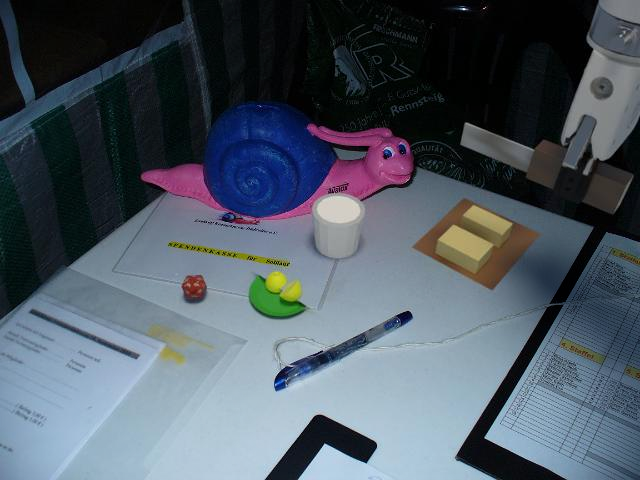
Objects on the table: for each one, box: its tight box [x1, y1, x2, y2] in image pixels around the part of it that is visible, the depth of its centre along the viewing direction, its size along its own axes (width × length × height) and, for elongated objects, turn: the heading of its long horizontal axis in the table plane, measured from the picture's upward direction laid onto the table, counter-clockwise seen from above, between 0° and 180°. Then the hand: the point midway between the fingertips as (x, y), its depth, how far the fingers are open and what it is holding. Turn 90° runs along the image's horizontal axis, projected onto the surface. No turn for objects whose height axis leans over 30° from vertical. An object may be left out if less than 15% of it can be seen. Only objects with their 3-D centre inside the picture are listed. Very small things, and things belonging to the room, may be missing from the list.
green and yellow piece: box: [248, 270, 308, 317], centre depth 73 cm, size 8×8×3 cm
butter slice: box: [460, 205, 513, 248], centre depth 81 cm, size 6×3×2 cm, turn 50°
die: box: [180, 274, 208, 300], centre depth 73 cm, size 3×3×3 cm
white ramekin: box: [311, 192, 366, 260], centre depth 78 cm, size 7×7×7 cm
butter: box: [435, 225, 494, 274], centre depth 78 cm, size 6×4×2 cm, turn 50°
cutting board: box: [411, 197, 541, 291], centre depth 81 cm, size 12×14×1 cm
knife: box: [460, 122, 635, 215], centre depth 67 cm, size 19×2×4 cm, turn 51°
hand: (572, 189), depth 66 cm, fingers closed on knife, 2 cm apart
